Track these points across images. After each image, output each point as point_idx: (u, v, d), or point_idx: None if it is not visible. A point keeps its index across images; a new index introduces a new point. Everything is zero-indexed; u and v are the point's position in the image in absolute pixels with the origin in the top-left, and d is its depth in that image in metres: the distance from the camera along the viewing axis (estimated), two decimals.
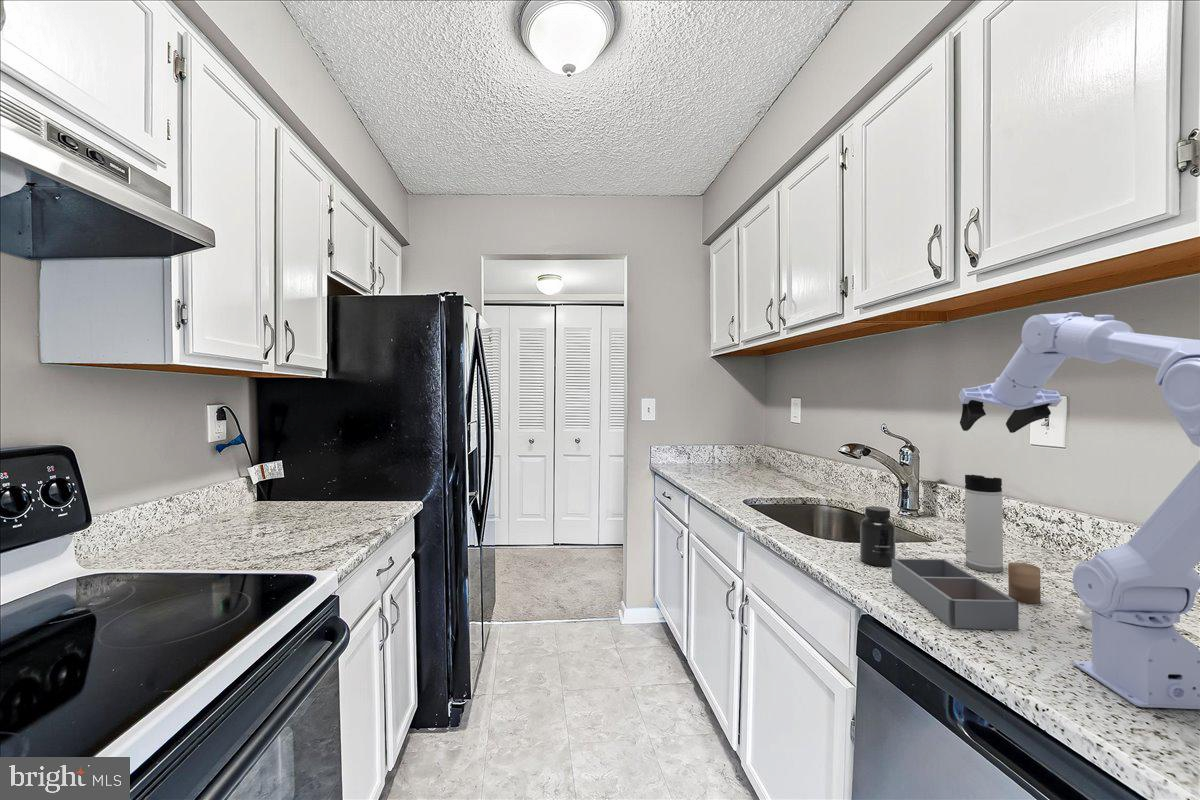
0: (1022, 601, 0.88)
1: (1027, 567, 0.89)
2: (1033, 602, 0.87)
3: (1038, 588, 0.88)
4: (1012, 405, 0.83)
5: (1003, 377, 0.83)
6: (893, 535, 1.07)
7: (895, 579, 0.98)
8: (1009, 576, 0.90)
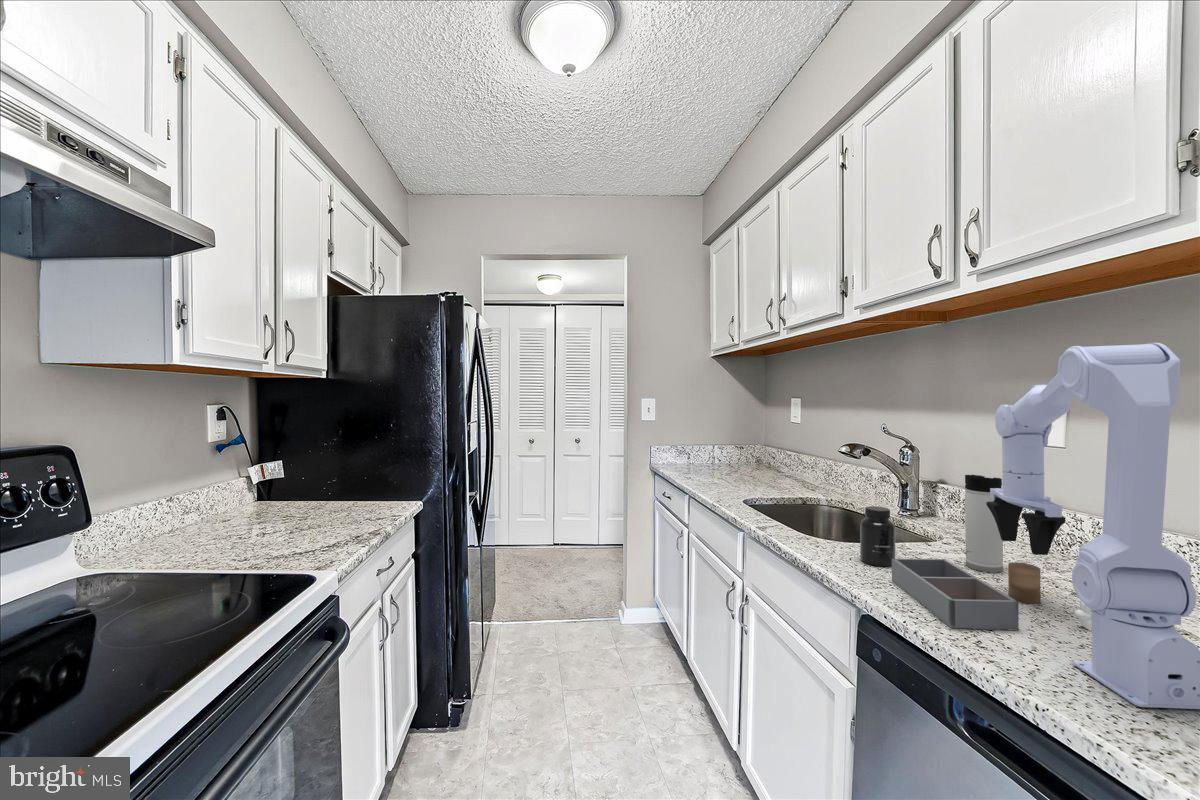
0: (1022, 601, 0.88)
1: (1027, 567, 0.89)
2: (1033, 602, 0.87)
3: (1038, 588, 0.88)
4: (1002, 495, 0.90)
5: None
6: (893, 535, 1.07)
7: (895, 579, 0.98)
8: (1009, 576, 0.90)
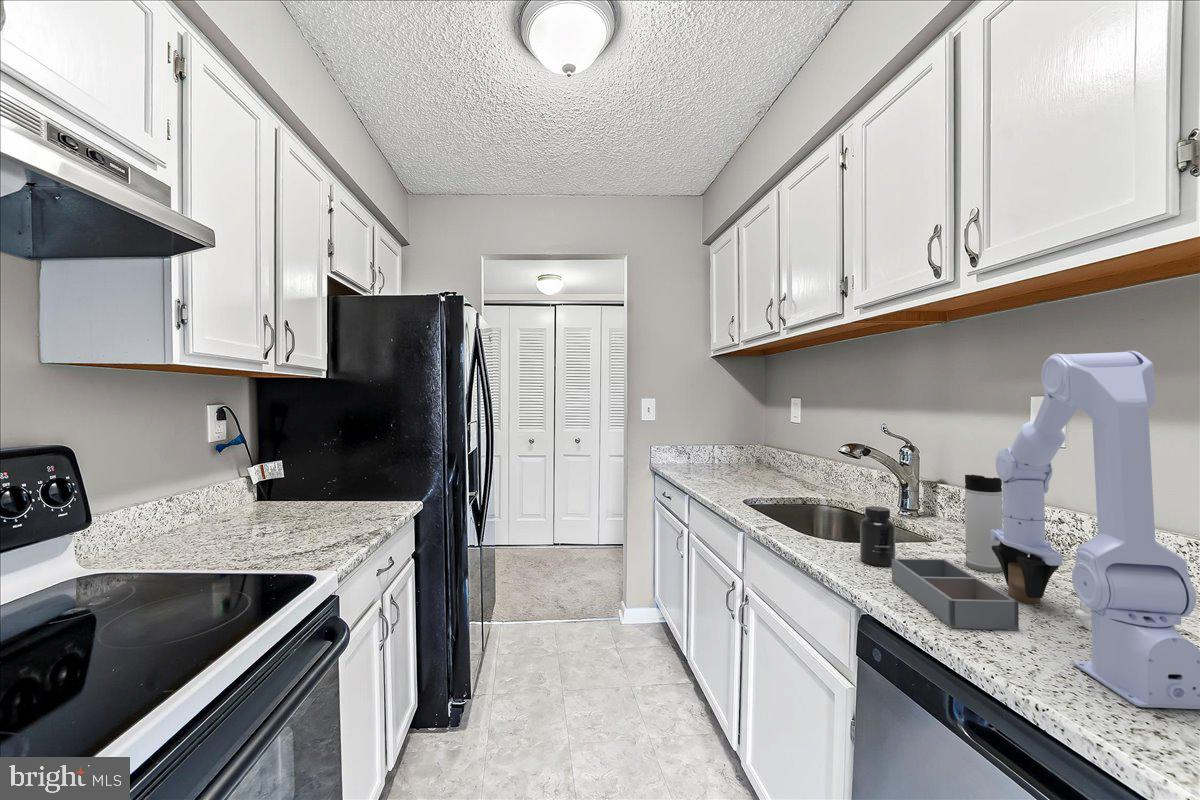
0: (1022, 601, 0.88)
1: None
2: (1033, 602, 0.87)
3: None
4: (1003, 539, 0.91)
5: None
6: (893, 535, 1.07)
7: (895, 579, 0.98)
8: (1009, 576, 0.90)
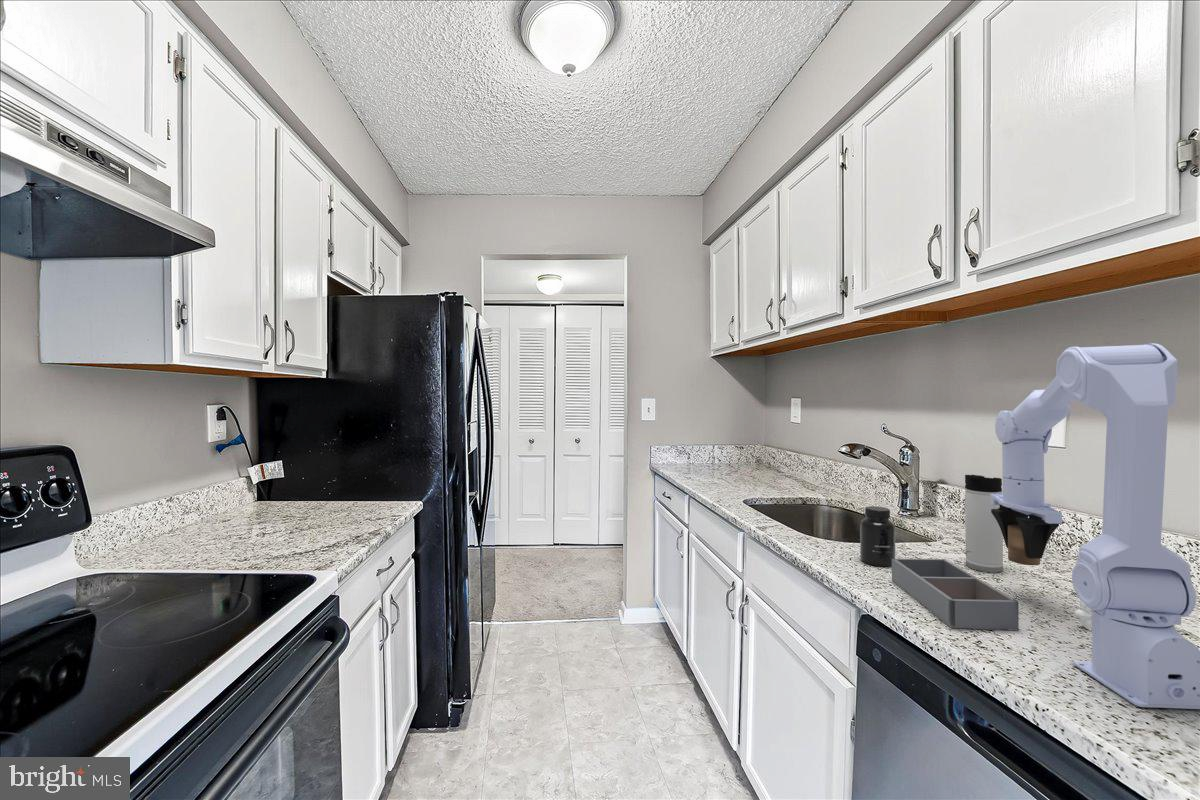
0: (1021, 562, 0.88)
1: None
2: (1033, 563, 0.87)
3: None
4: (1003, 501, 0.90)
5: None
6: (893, 535, 1.07)
7: (895, 579, 0.98)
8: (1009, 537, 0.90)
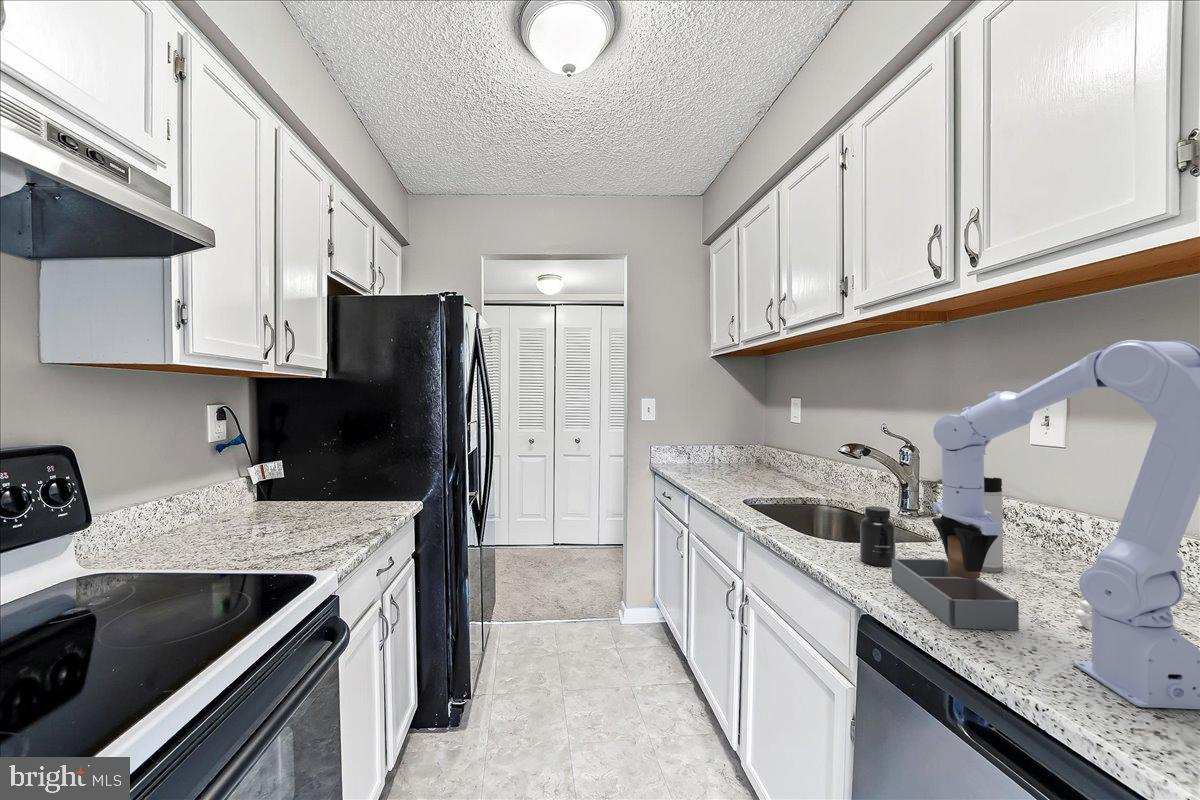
0: (960, 575, 0.83)
1: None
2: (972, 576, 0.82)
3: None
4: (942, 510, 0.85)
5: None
6: (893, 535, 1.07)
7: (895, 579, 0.98)
8: (948, 549, 0.85)
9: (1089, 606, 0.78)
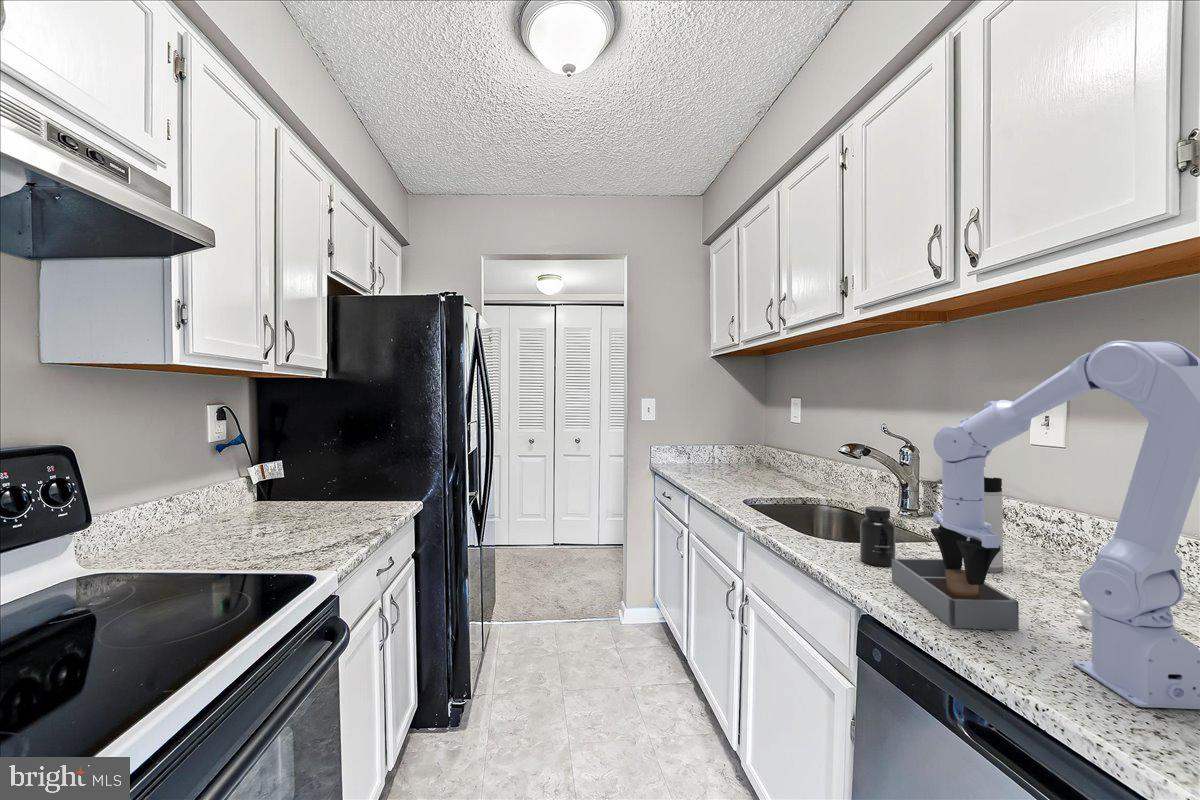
0: None
1: (964, 572, 0.84)
2: None
3: (976, 594, 0.83)
4: (942, 521, 0.85)
5: None
6: (893, 535, 1.07)
7: (895, 579, 0.98)
8: (947, 582, 0.85)
9: (1089, 606, 0.78)
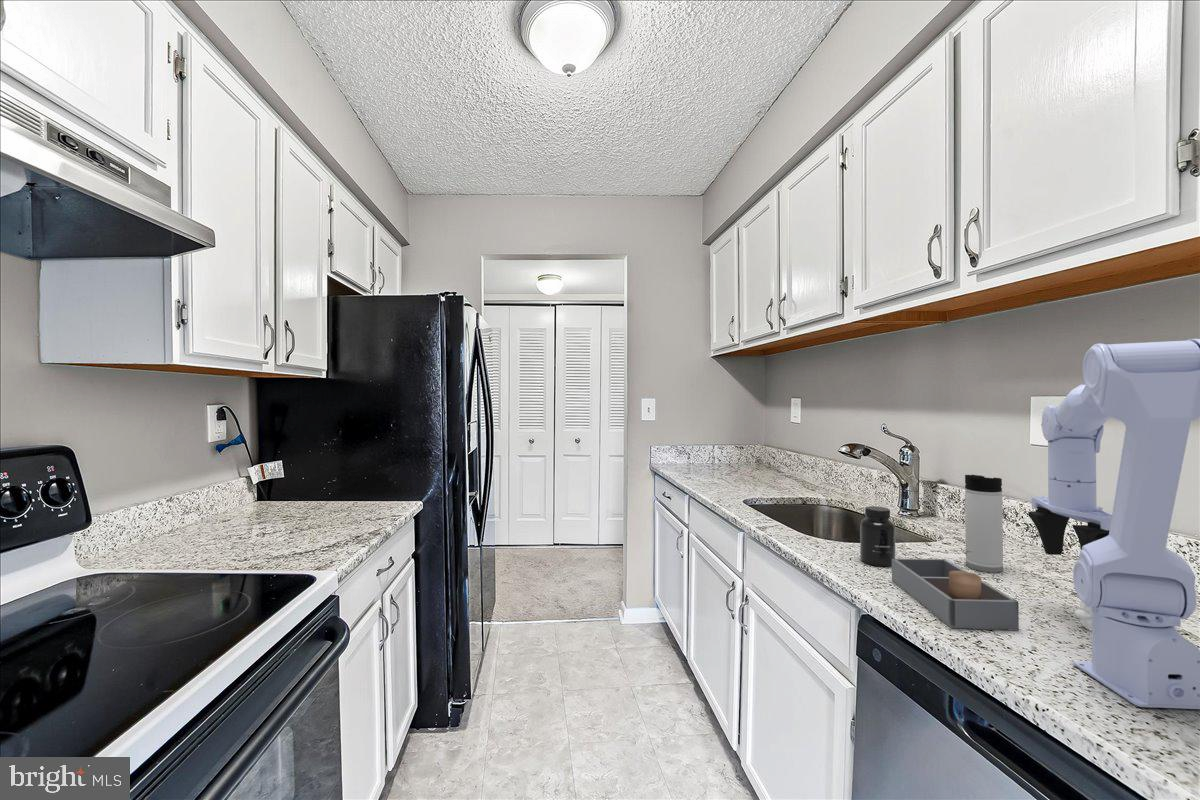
0: None
1: (967, 576, 0.84)
2: None
3: (978, 599, 0.82)
4: (1049, 504, 0.83)
5: None
6: (893, 535, 1.07)
7: (895, 579, 0.98)
8: (949, 585, 0.85)
9: None
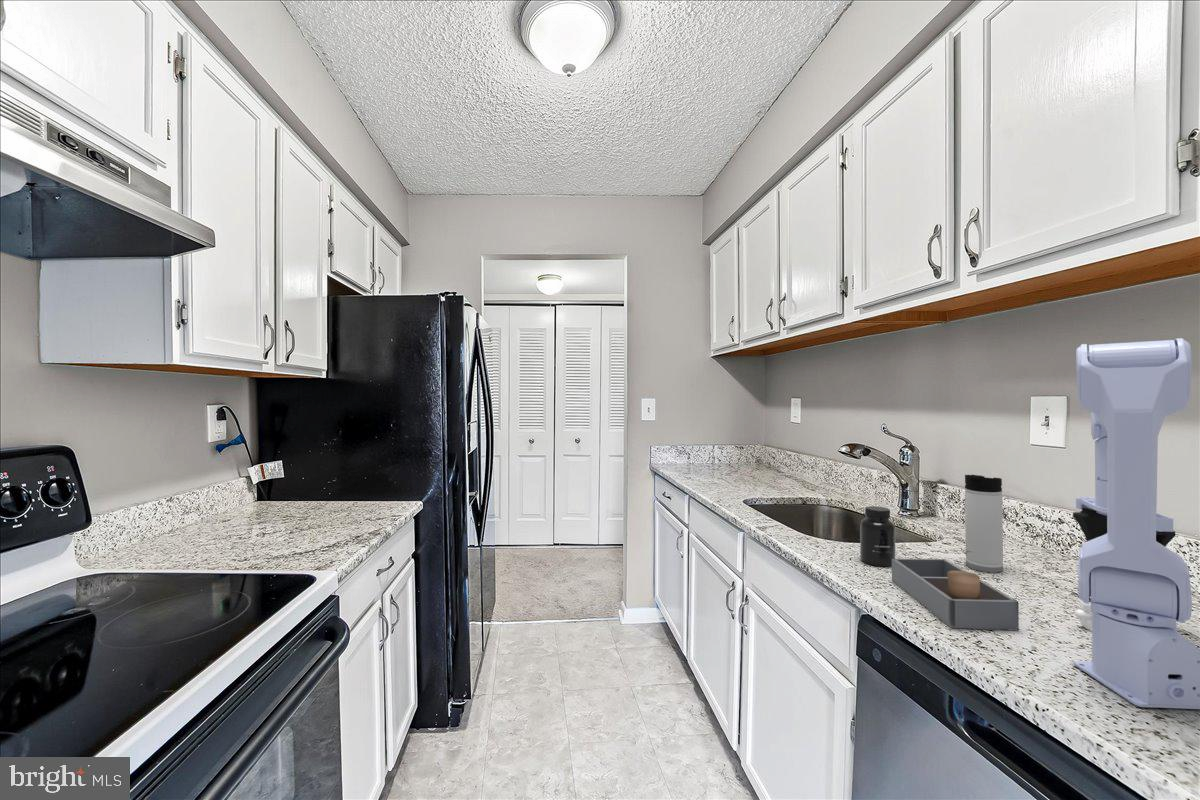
0: None
1: (966, 575, 0.84)
2: None
3: (976, 598, 0.82)
4: (1096, 505, 0.82)
5: None
6: (893, 535, 1.07)
7: (895, 579, 0.98)
8: (948, 584, 0.85)
9: (1089, 606, 0.78)
